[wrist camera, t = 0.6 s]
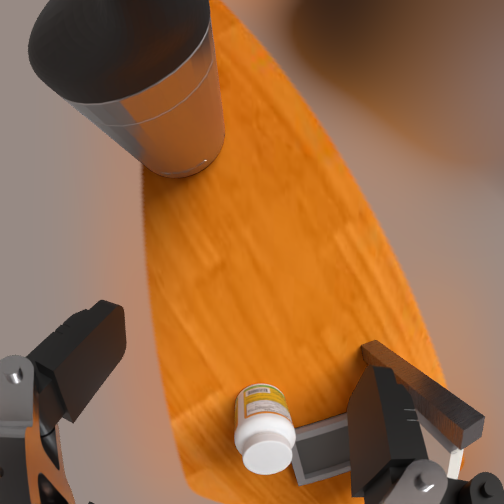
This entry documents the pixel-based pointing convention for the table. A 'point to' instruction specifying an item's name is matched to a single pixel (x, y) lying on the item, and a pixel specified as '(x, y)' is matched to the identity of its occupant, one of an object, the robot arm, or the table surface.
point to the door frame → (430, 397)
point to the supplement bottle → (263, 429)
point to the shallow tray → (321, 450)
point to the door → (440, 448)
